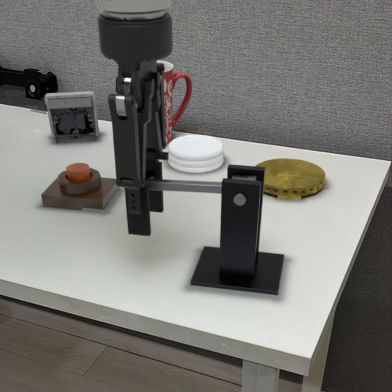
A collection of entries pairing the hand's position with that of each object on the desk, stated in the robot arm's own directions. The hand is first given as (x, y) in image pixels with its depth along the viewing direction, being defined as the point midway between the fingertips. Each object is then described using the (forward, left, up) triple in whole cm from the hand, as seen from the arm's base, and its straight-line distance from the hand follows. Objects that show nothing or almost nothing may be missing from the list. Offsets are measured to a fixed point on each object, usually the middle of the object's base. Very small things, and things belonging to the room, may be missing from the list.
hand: (146, 221), depth 71 cm
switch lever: (+7, 0, +4) cm, 8 cm away
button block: (-16, +17, -7) cm, 24 cm away
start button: (-16, +17, -3) cm, 23 cm away
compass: (+16, +29, -7) cm, 34 cm away
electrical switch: (-26, +41, -7) cm, 49 cm away
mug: (-10, +45, -7) cm, 47 cm away
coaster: (-1, +35, -7) cm, 36 cm away
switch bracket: (+12, 0, -7) cm, 14 cm away
